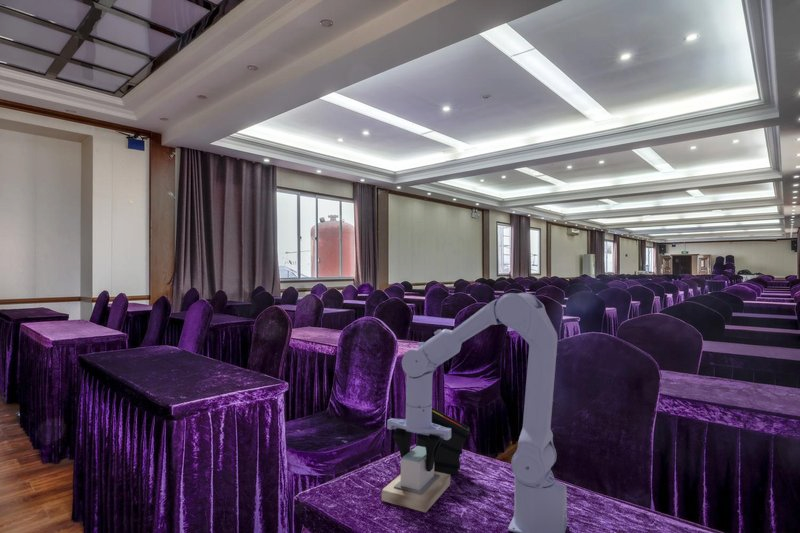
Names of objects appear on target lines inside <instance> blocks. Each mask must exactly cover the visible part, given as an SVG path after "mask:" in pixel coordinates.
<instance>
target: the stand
mask: <svg viewBox="0 0 800 533" xmlns="http://www.w3.org/2000/svg"><path fill="white" fill-rule="evenodd" d="M400 483H401V473H400V474H399V475H398V476H397V477H395V478H394V479H393V480H392V481H390V483H388V484H387V485H386V486H385V487H383V488H382V489H381V502H386V503H390V504H391V505H397V506H400V507H403V508H408V509H411V510H414V511H418V512H422V513H427V512H428V511H429V509H430V508H431V507H432V506H433V505H434V504H435V503H436V501H437V500H439V498H440V497H441V496H442V495H443V494H444V493H445V492H446V490H447V489H448V488H449V487H450V486H451V474H445V473H440V472H436V471H434V476H433V477H432V478H431V479H430V480H429V481H428V482H427V483H426V484H425V485H424V486H423V487H422V488H421V489H420V490H416V489H412V488H408V487H404V486H400Z"/></svg>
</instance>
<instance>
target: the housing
mask: <svg viewBox="0 0 800 533" xmlns="http://www.w3.org/2000/svg"><path fill="white" fill-rule="evenodd" d="M400 474H401V483H400V486H404V487H408V488H412V489H416V490H420V489H421V488H422V487H423V486H424V485H425V484H426V483H427V482H428V481H429V480H430V479H431V478H432V477H433V476H434V465H433V469H432V470H431V471H430V472H429V471H426V447H421V446H416V445H415V447H414V448H412V449H410V452H408V453H407V454H406V455H405V456H403V458H400Z"/></svg>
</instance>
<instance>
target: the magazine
mask: <svg viewBox="0 0 800 533" xmlns="http://www.w3.org/2000/svg"><path fill="white" fill-rule="evenodd" d="M432 423H434V424H437V425H440V426H443V427H446V428H451V438H450V439H449V440H444V438H443V440H442V442H441V444H440V446H439V449H438V451H437V454H436V457H435V461H434V471H436V472H440V473H445V474H449V475H455V476H456V475H459V470H460V469H461V461H460V457H461V455H462V454H463V446H464V443H465V441H466V440H467V441H468V439H469V436H470V435H469V434H470V427H469V426H467V425H465V424H464V423H462V422H460V421H458V420H456V419H455V418H453V417H451V416H449V415H447V414H445V413H443V412H441V411H439V410H437V409H435V408H434V407H432ZM416 434H417V435H416V437H417V439H416V443H415V447H416V446H421V447H425V439H427V438H428V437H429V436H428V435H423V434H418V433H416Z"/></svg>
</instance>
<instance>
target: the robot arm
mask: <svg viewBox="0 0 800 533" xmlns="http://www.w3.org/2000/svg"><path fill="white" fill-rule="evenodd" d="M502 324H503V325H504V326H506V327H507V328H510V329H511V330H514V331H515V332H516V333H518V334H519V335H520V336H521V337H522V338H523V340H525V342H527V344H528V358H527V369H526V380H525V382H526V383H525V394H524V406H523V407H524V409H523V419H522V420H523V421H522V429H521V431H520V435H519V437H518V438H519V439H518V441H517V449H516V451H515V452H514V454H513V455H512V458H511V462H510V467H511V470H512V473H513V475H514V496H513V497H514V498H513V499H514V500H513V501H514V502H513V504H514V506H513V507H514V508H513V512H514V514H513V517H512V519H511V521H510V523H509V525H508V527H507V529H508V531H510V532H513V533H566V530H567V528H568V516H567V512H568V511H567V510H568V508H567V507H568V505H567V504H568V488H567V485H566V484H563V483H560V482H558V481H557V480H555V476H554V473H553V471H552V469H551V468H552V467H553V466H554V465H555V463H556V462H557V450H556V448H555V445H554V439H553V438H554V434H553V431H552V429H551V428H552V426H551V425H552V413H553V402H554V390H555V389H554V387H555V377H556V376H555V374H556V363H557V362H556V361H557V354H558V353H557V350H558V342H559V341H558V338H559V337H558V333H557V331H556V329H555V327H554V325H553V324H552V321H551V319H550V317H549V315H548V314H547V311H546V307H545V305H544V303H543V302H541V301H540V300H539V299H538V298H537V297H536V296H534V295H533V294H532V293H529V292H519V293H515V292H508V293H504V294H502V296H500V297H499V298H498V299H494V300H492V301H490V302H488V303H487V304H486V305H484V306H483V307H481V308H480V309H479V310H477V311H476V312H475V313H474V314H473V315H470V316H469V318H467V319H466V320H464V321H463V322H462V323H461V324H459V325H457V327H455V328H453V329H452V330H451V329H447V328H444V329H437V330H436V331H434V332H433V334H434V336H432V337H431V338H429V339H428V340H426V341H422V342H419V343H418V347H417V349H408V350H407V352H406V353H405V354H404V355H403V356H402V359H401V367H402V371H403V372H404V373H405V374H406V378H405V381H406V382H405V384H406V385H405V418H403V419H402V418H394V417H393V418H389V419H387V422H386V423H387V424H386V428H387V430H391V431H392V430H395V432H393V434H392V438H393V440H394V441H395V444H396V446H397V448H398V451H399V454H400V457H401V458H400V459H402V458H403V456H405V455H406V454H407V453H408V452H410V451H411V441H412V434H417V433H418V434H423V435H428V436H429V437H428V438H427V439H425V447H426V471H429V472H430V471H431V470H432V469H433V465H434V461H435V457H436V454H437V451H438V449H439V446H440V444H441V442H442V440H443V438H444V440H449V439H450V438H451V428H446V427H443V426H440V425H437V424H434V423H432V408H433V374H434V372H435V371H436V370H437V368H438V367H439V366H441V365H442V364H444V363H445V362H446V361H448V360H450V359H451V358H453V357H454V356H456V355H457V354H459V353H460V351H461V348H462V344H463V343H464V342H466V341H467V340H469V339H470V338H473V336H475V335H477V334H478V333H480V332H482V331H484V330H486V329H487V328H488V327H490V326H494V325H495V326H496V325H497V326H498V325H502Z"/></svg>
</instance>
